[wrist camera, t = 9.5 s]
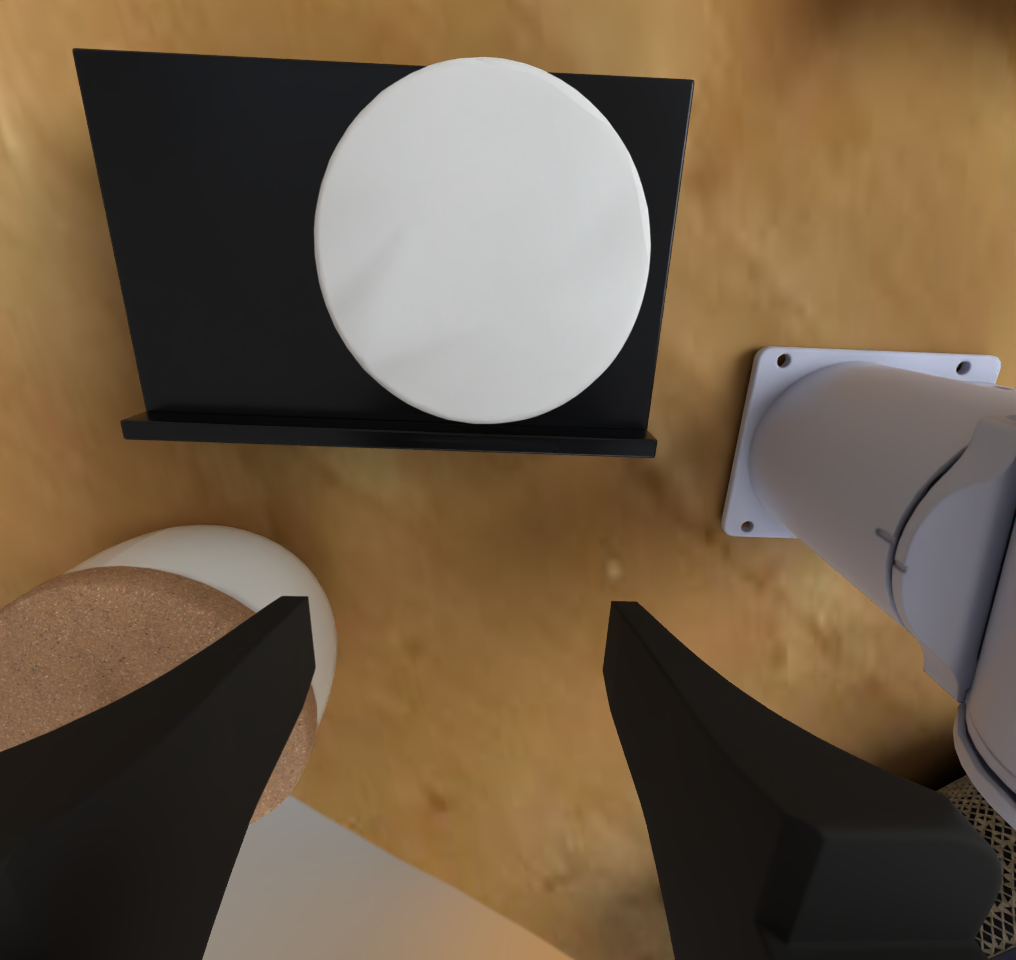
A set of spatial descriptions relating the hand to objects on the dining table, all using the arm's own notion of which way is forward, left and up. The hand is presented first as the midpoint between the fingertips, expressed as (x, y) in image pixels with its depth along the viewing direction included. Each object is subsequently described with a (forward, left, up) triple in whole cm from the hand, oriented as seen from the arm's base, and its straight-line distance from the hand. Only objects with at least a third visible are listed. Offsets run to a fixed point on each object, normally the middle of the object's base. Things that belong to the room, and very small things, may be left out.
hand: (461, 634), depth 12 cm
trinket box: (+10, +6, -11) cm, 16 cm away
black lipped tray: (+2, -8, -10) cm, 13 cm away
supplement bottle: (-1, -8, -6) cm, 10 cm away
